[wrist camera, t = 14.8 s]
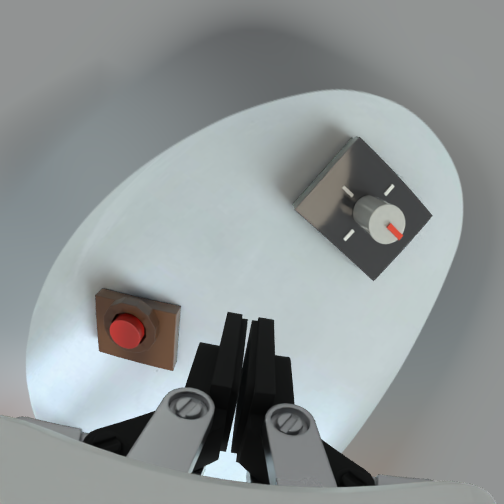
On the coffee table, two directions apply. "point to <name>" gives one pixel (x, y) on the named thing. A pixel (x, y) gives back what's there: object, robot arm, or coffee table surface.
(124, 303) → the power block
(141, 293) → the coffee table surface
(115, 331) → the power button
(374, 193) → the hob panel
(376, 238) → the hob knob
